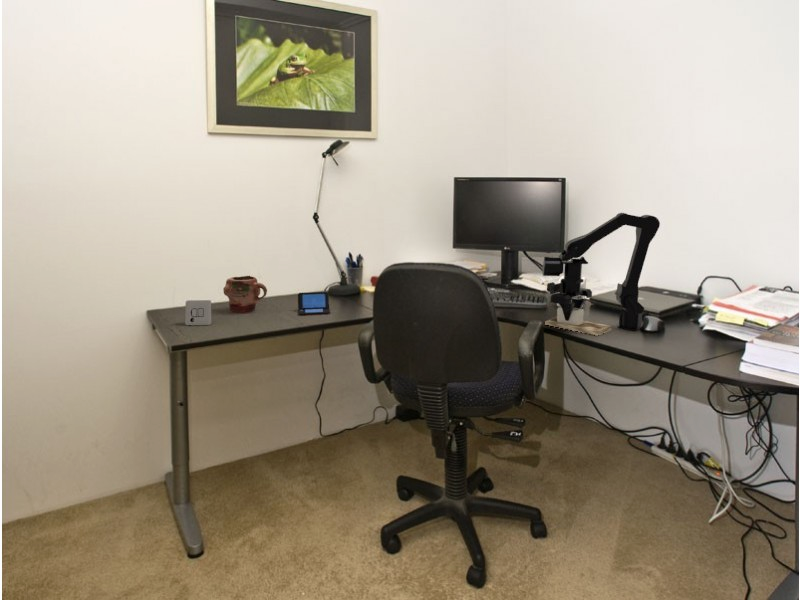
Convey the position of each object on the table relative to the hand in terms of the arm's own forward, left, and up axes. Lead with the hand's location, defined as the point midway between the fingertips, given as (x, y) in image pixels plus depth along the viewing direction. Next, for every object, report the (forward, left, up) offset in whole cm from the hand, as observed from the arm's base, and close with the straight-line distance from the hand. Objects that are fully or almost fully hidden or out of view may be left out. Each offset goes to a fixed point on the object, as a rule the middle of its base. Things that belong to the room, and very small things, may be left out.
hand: (570, 319), depth 200 cm
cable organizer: (+18, -31, -3) cm, 36 cm away
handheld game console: (+85, +51, -3) cm, 99 cm away
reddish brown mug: (+106, +70, -3) cm, 127 cm away
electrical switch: (+99, +93, -3) cm, 136 cm away
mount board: (-3, 0, -3) cm, 4 cm away
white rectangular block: (0, 0, -1) cm, 1 cm away
